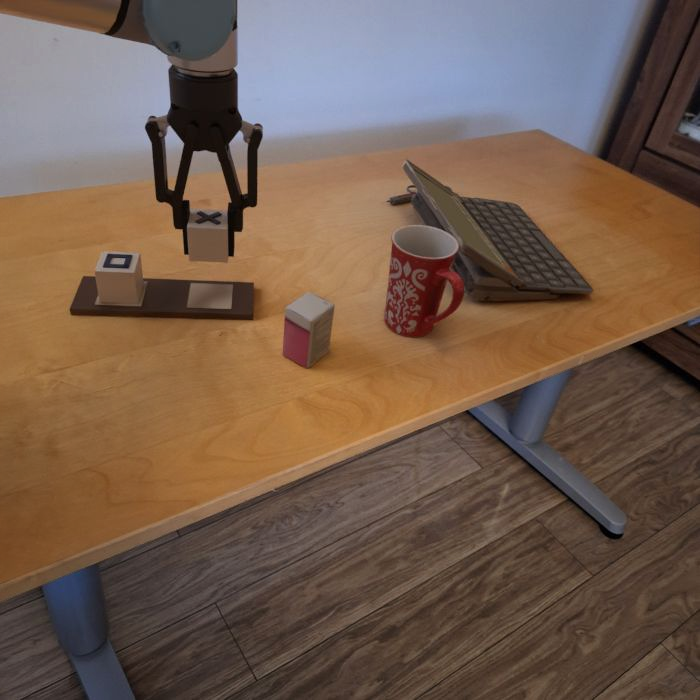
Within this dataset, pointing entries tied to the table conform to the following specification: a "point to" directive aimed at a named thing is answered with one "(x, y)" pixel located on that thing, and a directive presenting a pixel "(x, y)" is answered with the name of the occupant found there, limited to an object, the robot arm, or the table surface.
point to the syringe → (405, 196)
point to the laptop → (494, 245)
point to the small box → (307, 329)
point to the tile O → (119, 277)
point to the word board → (172, 300)
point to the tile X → (208, 235)
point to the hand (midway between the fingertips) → (209, 250)
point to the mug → (420, 279)
